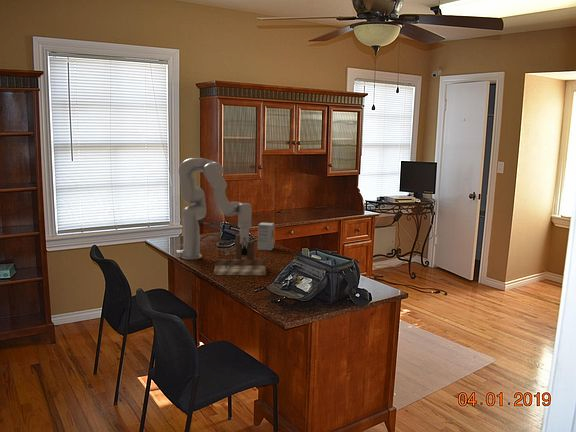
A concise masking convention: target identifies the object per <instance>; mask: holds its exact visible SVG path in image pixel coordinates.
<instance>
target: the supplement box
mask: <svg viewBox="0 0 576 432" xmlns="http://www.w3.org/2000/svg"><path fill="white" fill-rule="evenodd" d="M274 243H275V223H274V222H260V223H258V224H257V250H260V251H272V250H273V249H274V246H275V245H274Z"/></svg>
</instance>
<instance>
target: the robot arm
mask: <svg viewBox="0 0 576 432" xmlns="http://www.w3.org/2000/svg"><path fill="white" fill-rule="evenodd" d="M194 173H203V175H204V177H205V178H206V179H207V181H208V183H209V185H210V186H211V188H212V190H213V193H214V200H215V203H216V206H217V207H218V208H219V211H220V213H222V214H223V215H224V216H226V217H231V216H235V215H238V217H237V219H238V221H237V228H239V234H240V245H241V244H242V257H244V256H245V257H246V256H247V245H248V244H249V242H250V228H252V212H253V211H252V204H251V203H249V202H240V201H229V199H228V197H227V195H226V189H227V186H228V185H227V181H226V180H225V179H224V176H223V174H224V167H223V165H222V164H221V163H220V162H217V161H214V160H211V159H208V158H204V157H192V158H191V157H190V158H187V159H185V160H184V161H183V160H182V162H181V163H180V164H179V167H178V176H179V181H180V190H181V197H182V198H181V199H182V201H183V203H185V204H191V205H188V206H186V207H184V208H183V209H182V211H181V220H182V225H183V226H182V228H183V230H182V231H183V249H181V250H177V249H176V251H175V253H176V255H180V258H181V259H184V260H189V261H190V260H192V261H193V260H199V259H201V258H202V257H203V255H202V254H201V253H200V225H199V222H198V221H199V220H202V219H204V218H205V217H206V216H207V203H206V194H205V192H204V189H202V188H201V187H200V186H196V180H195V177H194V175H193V174H194Z"/></svg>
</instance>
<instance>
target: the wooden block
mask: <svg viewBox="0 0 576 432" xmlns="http://www.w3.org/2000/svg"><path fill="white" fill-rule="evenodd" d="M234 257H235V258H234V259H239V260H255V240H254V239H252V240H250V241H249V242H248V245H247V256H245V257H243V256H242V244H241V245H240V233H237V234H235V256H234Z"/></svg>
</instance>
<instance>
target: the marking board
mask: <svg viewBox="0 0 576 432" xmlns="http://www.w3.org/2000/svg"><path fill="white" fill-rule="evenodd" d="M214 263H215V265H214V269H213V275H214V274H215V275H214V276H267V270H266V259H254V260H239V259H235V258H234V259H229V258H227V259H226V258H221V259H218V258H215V262H214Z"/></svg>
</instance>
